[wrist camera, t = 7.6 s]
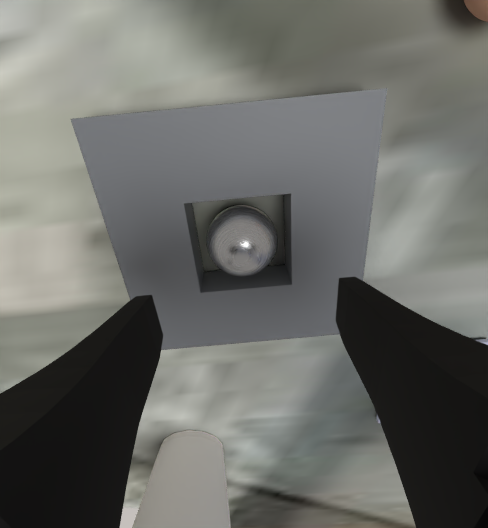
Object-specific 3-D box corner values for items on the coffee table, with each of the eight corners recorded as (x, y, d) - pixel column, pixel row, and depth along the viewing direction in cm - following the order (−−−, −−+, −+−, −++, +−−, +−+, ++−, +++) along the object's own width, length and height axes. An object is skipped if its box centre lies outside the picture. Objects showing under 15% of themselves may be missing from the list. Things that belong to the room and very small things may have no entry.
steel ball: (274, 255, 19) (281, 287, 16) (214, 258, 19) (207, 292, 16) (273, 194, 17) (281, 216, 14) (206, 199, 17) (196, 221, 14)
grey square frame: (343, 309, 22) (356, 332, 19) (155, 326, 22) (147, 351, 20) (364, 90, 15) (387, 88, 13) (94, 117, 15) (70, 119, 13)
